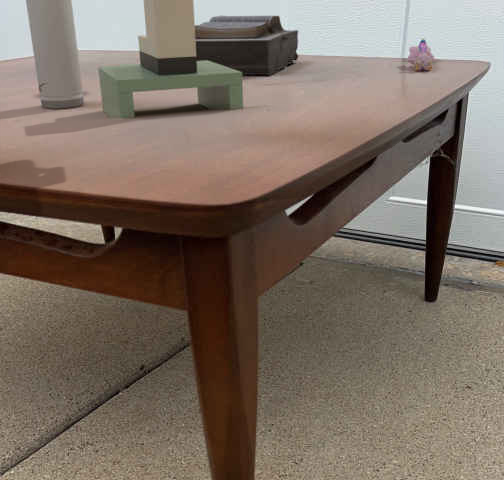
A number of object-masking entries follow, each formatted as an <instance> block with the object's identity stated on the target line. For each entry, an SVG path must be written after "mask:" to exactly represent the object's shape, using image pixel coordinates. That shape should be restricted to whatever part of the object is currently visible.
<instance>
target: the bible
mask: <svg viewBox="0 0 504 480" xmlns="http://www.w3.org/2000/svg"><path fill="white" fill-rule="evenodd" d="M298 37H299V30H298V29H296V30H295V29H293V30H287V29H284V27H283V26H282V23H281V17H280V15H217V16H215V15H214V16H211V18H209V21H204V22H201V23H200V24H195V42H196V60H197V61H205V60H208V61H211V62H214V63H217V64H219V65H222V66H225V67H228V68H231V69H234V70H237V71H240V72H242V76H245V75H246V76H247V75H249V76H250V75H251V76H256V75H257V76H272V75H273V74H275V73H277V72H279V71H281V70H283V69H282V68H284V67H285V66H286V67H287V66H289V65H288V64H291V63H293V62H294V61H293V60H296V61H298V59H299V54H298V53H297V50H298V47H299V38H298ZM293 64H294V63H293ZM291 65H292V64H291ZM286 67H285V68H286ZM285 68H284V69H285ZM280 69H281V70H280ZM278 70H279V71H278ZM276 71H277V72H276Z"/></svg>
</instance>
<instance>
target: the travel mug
mask: <svg viewBox="0 0 504 480" xmlns="http://www.w3.org/2000/svg"><path fill="white" fill-rule="evenodd" d="M25 3H26V9H27V10H26V11H27V18H28V24H29V30H30V38H31V45H32V53H33V58H34V59H33V60H34V64H35V71H36V78H37V86H38V91H39V95H40V97H39V99H40V105H41V107H42V108H44V109H51V110H53V109H54V110H63V109H64V110H65V109H73V108H78V107H81V106H83V105H84V103H85V99H84V94H83V92H84V91H83V84H82V83H83V82H82V75H81V74H82V73H81V67H80V59H79V51H78V43H77V34H76V27H75V19H74V9H73V2H72V0H25Z"/></svg>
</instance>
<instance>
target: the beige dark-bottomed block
mask: <svg viewBox="0 0 504 480" xmlns="http://www.w3.org/2000/svg"><path fill="white" fill-rule="evenodd" d="M194 4H195V3H194V0H143V7H144V8H143V10H144V11H143V12H144V22H145V34H141V35H137V38H138V39H137V40H138V41H137V42H138V52H139V63H140V65H141V66H142V67H144V68H146V69H148V70H150V71H151V72H153V73H155V74H157V75H175V74H191V73H197V60H196V42H195V25H196V23H195V10H194V9H195V7H194V6H195V5H194Z"/></svg>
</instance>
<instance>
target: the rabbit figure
mask: <svg viewBox="0 0 504 480" xmlns="http://www.w3.org/2000/svg"><path fill="white" fill-rule="evenodd" d="M408 50H409V53H410V54H409V55H408V56H407V59H405V62H406V63H410V64H411V65H412V66H413V69H414V71H415V72H416V73H417V72H419V71H425V70H429V71H432V70H433V62H435V63H439V62H440V59H438V58H435V57H434V55H433V54H432V52H431V51H432V49H431V47H430V46H428V45H427V41H426V39H425V38H422V39H421V40H420V42H419V44H418V45H417V46H415V45H412V46H410V47H409V49H408ZM417 70H418V71H417Z"/></svg>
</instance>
